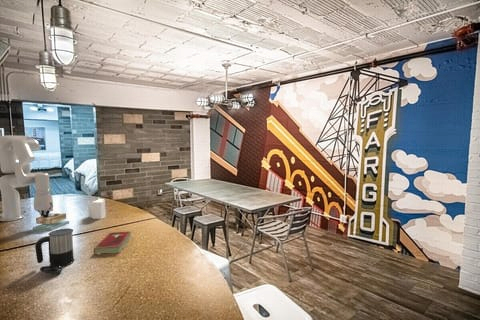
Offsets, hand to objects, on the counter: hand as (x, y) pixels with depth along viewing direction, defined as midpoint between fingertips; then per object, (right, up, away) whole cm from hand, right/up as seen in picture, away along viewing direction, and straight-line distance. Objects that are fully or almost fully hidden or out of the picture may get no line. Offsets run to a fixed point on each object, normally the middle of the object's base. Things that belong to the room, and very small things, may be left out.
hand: (45, 220), depth 163 cm
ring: (+5, -1, 0) cm, 5 cm away
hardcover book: (+60, -7, -30) cm, 68 cm away
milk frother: (+47, -8, -53) cm, 72 cm away
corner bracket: (+23, -3, +21) cm, 31 cm away
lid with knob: (+4, -4, 0) cm, 6 cm away
